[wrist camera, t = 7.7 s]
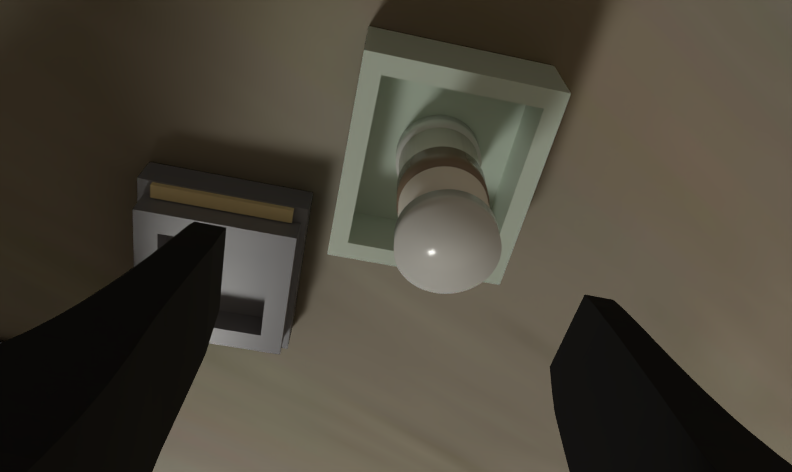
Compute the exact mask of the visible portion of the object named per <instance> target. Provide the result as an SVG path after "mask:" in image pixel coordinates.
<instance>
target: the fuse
mask: <svg viewBox="0 0 792 472" xmlns="http://www.w3.org/2000/svg"><path fill="white" fill-rule="evenodd" d="M481 165H482V159H481V153H480V149H479V144H478V141H477V138H476V136H475V134H474V133H473V131H472V130H471V129H470V128H469V126H467V125H466V124H465V123H464V122H462V121H461V120H459V119H457V118H454V117H451V116H447V115H431V116H426V117H423V118H421V119H419V120H417V121H415V122H413V123H412V124H411V125H410V126H408V127H407V128H406V130H405V131H404V132H403V133H402V135H401V137H400V139H399V141H398V144H397V148H396V171H397V175H398V180H397V205H396V207H397V214H398V219H397V221H396V224H395V229H394V258H395V262H396V265H397V267H398V269H399V271H400V272H401V274H402V275H403V276H404V277H405V278H406V279H407V280H408V281H409V282H410V283H412V284H413V285H415V286H417V287H419V288H421V289H423V290H426V291H429V292H433V293H441V294H450V293H458V292H462V291H466V290H469V289H471V288H473V287H475V286H477V285H479V284H480V283H482V282H483V281H485V280H486V279H487V278H488V277H489V276H490V275H491V274H492V273H493V271H494V270H495V268H496V267H497V265H498V263H499V260H500V257H501V251H502V244H501V238H500V234H499V230H498V225H497V222H496V218H495V216H494V214H493V212H492V211H491V209H490V207H489V204H490V201H489V195H488V190H487V186H486V182H485V177H484V174H483V171H482V169H481Z"/></svg>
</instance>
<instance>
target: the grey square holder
mask: <svg viewBox="0 0 792 472" xmlns="http://www.w3.org/2000/svg"><path fill="white" fill-rule="evenodd" d="M312 197H313V192H307V191H302V190H297V189H291V188H286V187H281V186H275V185H270V184H265V183H259V182H254V181H248V180H243V179H238V178H232V177H227V176H222V175H216V174H211V173H206V172H200V171H195V170H190V169H184V168H179V167H174V166H168V165H163V164H158V163H152V162H149V163H148V164H147V166H146V167H145V168H144V170H143V171H142V172H141V173H140V175H139V176H138V177H137V201H138V202H137V204H136V205H135V207H134V208H133V248H134V267H135V266H136V265H137V264H139V263H140V262H141V261H143V260H144V259H146V258H147V257H148V256H150V255H151V254H152V253H154V252H155V251H156V250H157V249H159V248H160V247H161V246H163V245H164V244H165V243H166V242H168V241H169V240H170V239H171V238H173V237H174V236H175V235H176V234H178V233H179V232H180V231H181V230H183V229H184V228H185V227H186V226H188V225H189V224H191V223H193V222H200V223H205V224H210V225H216V226H221V227H226V238H225V250H224V262H223V273H222V285H221V297H220V309H219V313H218V316H217V319H216V322H215V326H214V329H213V332H212V335H211V338H210V341H209V343H211V344H218V345H224V346H230V347H236V348H243V349H249V350H255V351H261V352H267V353H274V354H280V352H281V348H288V344H289V340H290V335H291V331H292V326H293V319H294V313H295V306H296V300H297V294H298V287H299V281H300V274H301V268H302V261H303V255H304V248H305V242H306V236H307V229H308V223H309V216H310V210H311V203H312Z"/></svg>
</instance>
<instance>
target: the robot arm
mask: <svg viewBox="0 0 792 472" xmlns="http://www.w3.org/2000/svg"><path fill="white" fill-rule="evenodd" d="M225 238H226V227H221V226H216V225H210V224H205V223H200V222H193V223H191V224H189V225H188V226H186V227H185V228H184V229H183V230H181V231H180V232H179V233H178V234H176V235H175V236H174V237H173V238H171V239H170V240H169V241H168V242H166V243H165V244H164V245H163V246H161V247H160V248H159V249H157V250H156V251H155V252H154V253H152V254H151V255H150V256H148V257H147V258H146V259H144V260H143V261H141V262H140V263H139V264H137V265H136V266H135V267H133V268H132V269H130V270H129V271H128V272H126V273H125V274H124V275H122V276H121V277H119V278H118V279H116V280H115V281H113V282H112V283H110V284H109V285H107V286H106V287H104V288H102V289H101V290H99V291H98V292H96V293H95V294H93V295H92V296H90V297H88V298H87V299H85V300H84V301H82V302H81V303H79V304H77V305H76V306H74V307H72V308H70V309H69V310H67V311H65V312H64V313H62V314H60V315H58V316H56V317H55V318H53V319H51V320H49V321H47V322H45V323H43V324H41V325H39V326H37V327H35V328H33V329H31V330H29V331H27V332H25V333H23V334H21V335H18V336H16V337H14V338H12V339H9V340H7V341H5V342H0V472H152V471H153V469H154V466H155V464H156V461H157V459H158V456H159V454H160V452H161V449H162V447H163V445H164V443H165V441H166V439H167V436H168V434H169V432H170V430H171V428H172V426H173V423H174V421H175V419H176V417H177V415H178V413H179V410H180V408H181V406H182V404H183V402H184V400H185V398H186V395H187V393H188V391H189V389H190V387H191V385H192V382H193V380H194V378H195V376H196V374H197V371H198V369H199V367H200V365H201V363H202V360H203V358H204V356H205V354H206V351H207V347H208V344H209V341H210V338H211V335H212V332H213V329H214V326H215V322H216V319H217V316H218V313H219V309H220V297H221V285H222V273H223V262H224V250H225ZM550 374H551V385H552V395H553V402H554V410H555V415H556V420H557V424H558V428H559V432H560V436H561V440H562V444H563V448H564V452H565V455H566V459H567V463H568V467H569V471H570V472H792V465H791V464H790V463H788V462H787V461H786V460H784V459H783V458H782V457H780V456H779V455H778V454H777V453H775V452H774V451H773V450H772V449H771V448H769V447H768V446H767V445H766V444H764V443H763V442H762V441H761V440H759V439H758V438H757V437H756V436H755V435H753V434H752V433H751V432H750V431H748V430H747V429H746V428H745V427H744V426H743V425H741V424H740V423H739V422H738V421H737V420H736V419H734V418H733V417H732V416H731V415H730V414H729V413H728V412H727V411H726V410H725V409H723V408H722V407H721V406H720V405H719V404H718V403H717V402H716V401H715V400H714V399H713V398H712V397H710V396H709V395H708V394H707V393H706V392H705V391H704V390H703V389H702V388H701V387H700V386H699V385H698V384H697V383H696V382H695V381H694V380H693V379H692V378H691V377H690V376H689V375H688V374H687V373H686V372H685V371H684V370H683V369H682V368H681V367H680V366H679V365H678V364H677V363H676V362H675V361H674V360H673V359H672V358H671V357H670V356H669V355H668V354H667V353H666V352H665V351H664V350H663V349H662V348H661V347H660V346H659V345H658V344H657V343H656V342H655V341H654V340H653V339H652V337H651V336H650V335H649V334H648V333H647V332H646V331H645V330H644V329H643V328H642V327H641V326H640V325H639V324H638V323H637V322H636V321H635V320H634V319H633V318H632V317H631V316H630V315H629V314H628V313H627V312H626V311H625V310H624V309H623V308H622V307H621V306H620V305H619V304H617V303H616V302H615V301H614V300H611V299H606V298H600V297H595V296H590V295H584V297H583V299H582V301H581V303H580V306H579V308H578V310H577V312H576V314H575V316H574V318H573V320H572V322H571V324H570V326H569V328H568V330H567V332H566V334H565V337H564V339H563V341H562V343H561V345H560V347H559V349H558V351H557V353H556V355H555V357H554V359H553V361H552V363H551V365H550Z"/></svg>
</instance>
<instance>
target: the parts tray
mask: <svg viewBox="0 0 792 472" xmlns="http://www.w3.org/2000/svg"><path fill="white" fill-rule="evenodd" d="M570 95H571V92H570V91H569V89H568V88H567V86H566V84H565V83H564V81H563V80H562V78H561V76H560V75H559V73H558V71H557V70H556V68H555V67H554V66H552V65H548V64H543V63H539V62H534V61H529V60H525V59H520V58H515V57H511V56H506V55H501V54H497V53H492V52H487V51H483V50H478V49H473V48H469V47H464V46H459V45H455V44H450V43H445V42H441V41H436V40H432V39H427V38H422V37H418V36H413V35H408V34H404V33H399V32H394V31H390V30H385V29H380V28H376V27H371V26H369V27H368V32H367V37H366V43H365V48H364V53H363V59H362V64H361V70H360V75H359V81H358V86H357V92H356V98H355V103H354V109H353V114H352V120H351V125H350V131H349V136H348V142H347V147H346V153H345V159H344V164H343V170H342V175H341V181H340V186H339V192H338V197H337V203H336V209H335V214H334V220H333V225H332V231H331V236H330V242H329V247H328V253H327V254H329V255H334V256H340V257H346V258H351V259H357V260H363V261H368V262H374V263H379V264H385V265H391V266H396V267H397V265H396V262H395V258H394V229H395V224H396V221H397V219H398V214H397V207H396V205H397V180H398V175H397V171H396V148H397V144H398V141H399V139H400V137H401V135H402V133H403V132H404V131H405V130H406V128H407V127H408V126H410V125H411V124H412V123H413V122H415V121H417V120H419V119H421V118H423V117H426V116H431V115H447V116H451V117H454V118H457V119H459V120H461V121H462V122H464V123H465V124H466V125H467V126H469V128H470V129H471V130H472V131H473V133H474V134H475V136H476V138H477V141H478V144H479V149H480V153H481V159H482V165H481V169H482V171H483V174H484V177H485V182H486V186H487V190H488V195H489V201H490V204H489V207H490V209H491V211H492V212H493V214H494V216H495V218H496V222H497V225H498V230H499V234H500V238H501V244H502V251H501V257H500V260H499V263H498V265H497V267H496V268H495V270H494V271H493V273H492V274H491V275H490V276H489V277H488V278H487V279H486V280H485V281H483V282H486V283H492V284H498V285H500V283H501V280H502V277H503V275H504V272H505V269H506V267H507V264H508V261H509V259H510V256H511V253H512V251H513V248H514V245H515V243H516V240H517V237H518V235H519V232H520V229H521V227H522V224H523V221H524V218H525V216H526V213H527V210H528V208H529V205H530V202H531V200H532V197H533V194H534V192H535V189H536V186H537V184H538V181H539V178H540V176H541V173H542V170H543V168H544V165H545V162H546V160H547V157H548V154H549V152H550V149H551V146H552V143H553V141H554V138H555V135H556V133H557V130H558V127H559V125H560V122H561V119H562V117H563V114H564V111H565V109H566V106H567V103H568V101H569V98H570Z"/></svg>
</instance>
